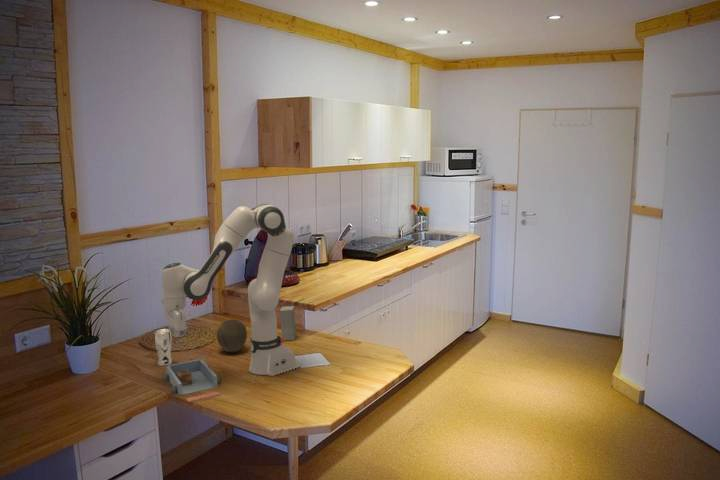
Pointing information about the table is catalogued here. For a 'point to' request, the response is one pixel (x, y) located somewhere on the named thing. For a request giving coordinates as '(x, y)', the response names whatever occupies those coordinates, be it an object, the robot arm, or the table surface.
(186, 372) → the brown small block
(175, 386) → the flatbed
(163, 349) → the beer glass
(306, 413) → the table surface
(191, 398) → the tailgate
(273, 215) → the robot arm
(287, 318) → the skincare box
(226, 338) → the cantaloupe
